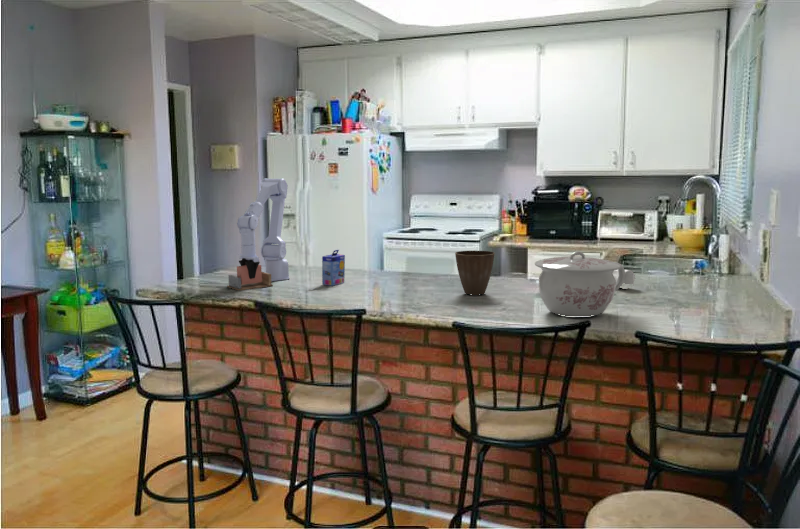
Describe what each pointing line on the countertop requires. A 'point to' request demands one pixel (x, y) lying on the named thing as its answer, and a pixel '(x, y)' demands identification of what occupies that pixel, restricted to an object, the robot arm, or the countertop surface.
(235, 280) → the gray rectangular bar
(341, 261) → the ink cartridge box
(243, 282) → the pink rectangular pillar
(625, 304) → the countertop surface
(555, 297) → the chamber pot
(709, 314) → the countertop surface
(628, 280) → the white plastic bottle
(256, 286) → the shelf
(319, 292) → the countertop surface
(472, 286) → the plant pot
